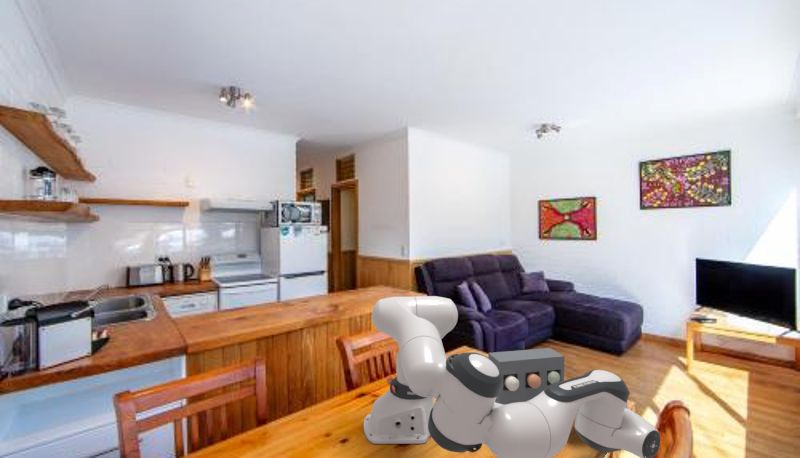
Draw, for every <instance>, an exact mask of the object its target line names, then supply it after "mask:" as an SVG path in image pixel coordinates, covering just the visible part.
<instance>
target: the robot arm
mask: <svg viewBox="0 0 800 458" xmlns="http://www.w3.org/2000/svg"><path fill="white" fill-rule="evenodd" d="M458 311H459V310H458V308H457V305H456V303H454V301H453V300H452V299H451V298H447V297H443V296H437V295H426V296H425V295H420V296H419V295H418V296H417V295H415V296H414V295H413V296H390V297H385V298H381V299H379V300H377V301H376V302H375V304H374V306H373V307H372V312H371V321H372V324H373V327H375V329H376V330H377V331H378V332H379V333H382V334H384V335H387V336H389V337H390V338H392V339H393V340H394V341H395V342H396V343H397V344H398V348H399V350H398V351H397V354H396V376H394V378H393V376H392V375H388V376H387V377H386V378H385V379H386V382H387V384H388V385H389V390H387V391H386V392H385V393H384V394H382V395H381V396H380V397H378V398H377V399H376V400H375V401H374V402H373V405H372V407H371V412H370V413H368V414H367V415H366V416H365V417H364V419H363V426H362V427H363V432H364V435H365V438H366V439H367V440H368V441H369V442H370V443H371V444H373V445H374V444H381V445H386V444H393V445H394V444H396V445H397V444H399V445H400V444H402V445H403V444H407V445H409V444H426V443H427V442H428V440H429V438H430V437H431V438H432V440H433V441H434V442H435V443H436V444H437V445H438V446H439V447H440V448H442V449H443V450H445V451H448V452H452V453H466V452H468V453H476V452H478V451H479V450H480V449H481V448H482V446H483V445H485V446H486V447H487V448H488V450H489V451H490V452H491V453H492V454H493V455H494V456H496V458H553V457H555V456H556V455H558V454H559V453H561V452H562V451H563V450H564V449H565V446H566V445H567V443H568V440H569V437H570V435H571V431H572V427H573V424H574V427H573V429H574V430H575V432H576V434H577V436H578V437H579V438H580V439H581V441H583V442H584V443H585V444H586V445H587V446H589V447H590V448H592V449H593V450H595V451H598V452H601V453H608V454H609V453H614V452H618V451H621V450H623V451H624V452H625V451H626V452H629V453H631V454H633V455H634V456H637V457H639V458H645V456H646V457H647V458H655V457H656V455H657V454H658V453H659V450H660V446H661V442H660V441H661V440H662V439H661V434H660V432H659V430H658V429H657V428H656V427H655V426H654V425H653V424H652V423H650V421H647V420H646V419H645V418H644V417H642V416H641V415H639V414H638V413H636V412H635V411H633V410H632V409H630V408H628V400H629V396H630V394H631V391H630V389H629V388H628V386H627V385H626V383H625V381H624V380H623V379H622V378H621V376H619V375H617V374H615V373H613V372H611V371H607V370H603V369H592V370H588V371H586V373H584V374H582V375H578V376H576V377H575V376H574V377H571V378H567V379H564V380H563V381H560V382H556V383H553V384H551V385H549V386H548V387H547V388H546V389H545V390H544V391H543V392H541V393H540V394H539V395H537V396H536V397H534V398H532V399H530V400H528V401H526V402H515V403H510V404H506V405H503V404H499V403H496V402H495V400H496V398H497V396H499V394H500V391H501V388H502V384H503V375H502V373H501V371H500V369H499V367H498V366H497V365H496V364H495V363H494V362H493V361H492V360H491V359H489V358H488V356H486V355H484V354H481V353H478V352H474V351H473V352H462V353H454V354H450V355H449V356H448V357H447V355H446V352H445V348H444V345H443V341H442V339H443V338H444V337H445V336H446V335H447V334H448V333H450V332H452V330H454V328H455V326H456V325H457V323H458V318H459V312H458ZM434 399H435V400H434ZM655 428H656V429H655Z"/></svg>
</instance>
